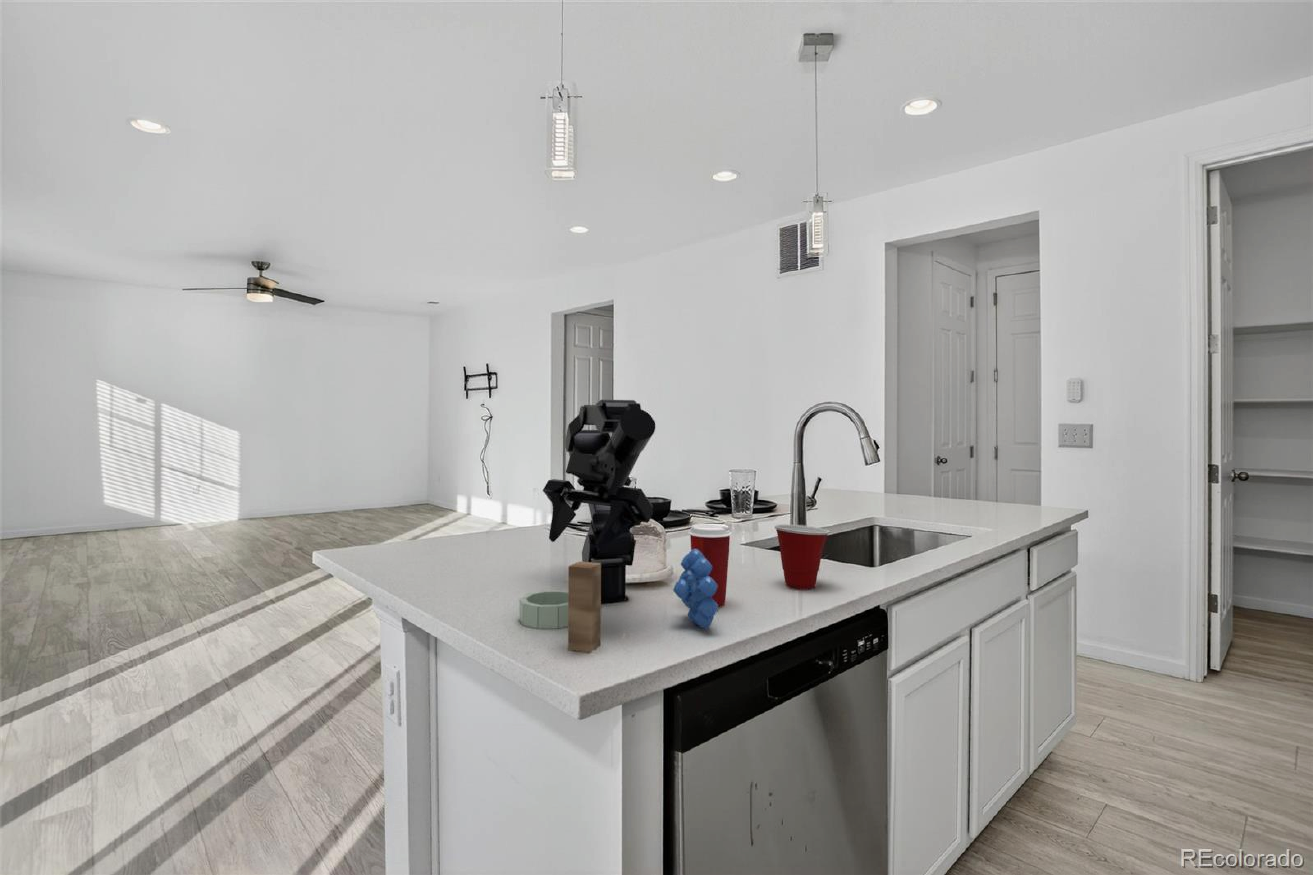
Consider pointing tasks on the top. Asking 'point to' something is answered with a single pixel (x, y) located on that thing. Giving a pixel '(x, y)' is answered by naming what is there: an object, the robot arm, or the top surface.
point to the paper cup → (714, 553)
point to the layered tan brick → (584, 606)
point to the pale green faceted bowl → (544, 609)
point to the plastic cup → (800, 553)
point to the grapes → (697, 588)
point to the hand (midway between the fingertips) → (573, 544)
